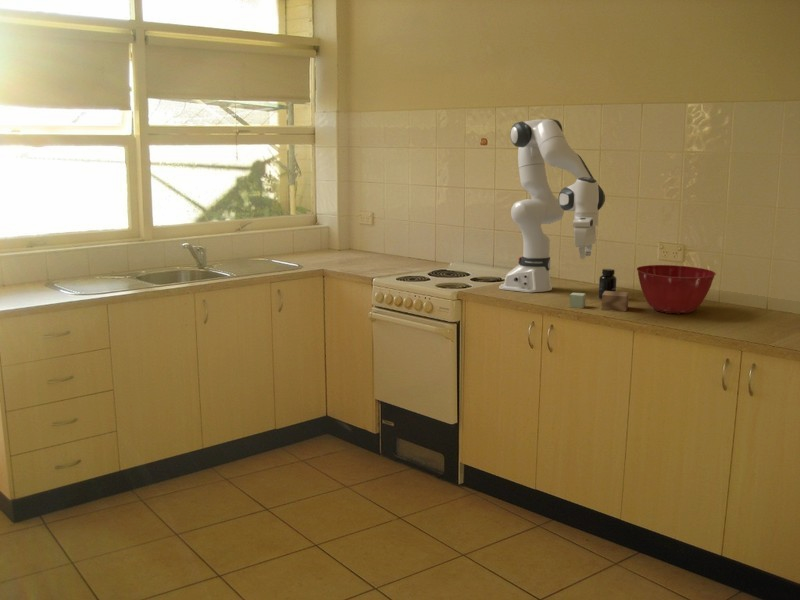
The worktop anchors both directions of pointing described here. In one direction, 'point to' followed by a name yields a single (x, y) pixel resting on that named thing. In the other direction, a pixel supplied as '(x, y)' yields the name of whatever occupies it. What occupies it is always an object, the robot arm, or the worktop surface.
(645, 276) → the mixing bowl
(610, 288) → the supplement bottle
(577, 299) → the sage block
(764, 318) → the worktop surface
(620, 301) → the pinkish brown block
